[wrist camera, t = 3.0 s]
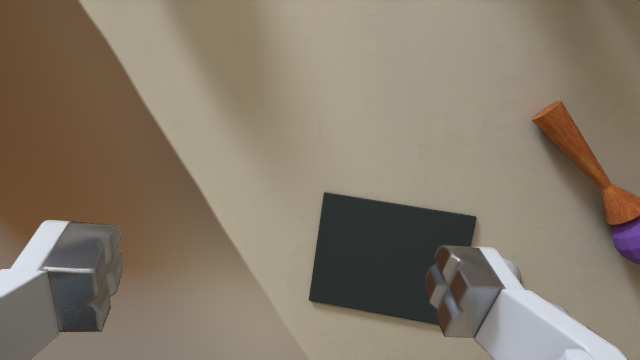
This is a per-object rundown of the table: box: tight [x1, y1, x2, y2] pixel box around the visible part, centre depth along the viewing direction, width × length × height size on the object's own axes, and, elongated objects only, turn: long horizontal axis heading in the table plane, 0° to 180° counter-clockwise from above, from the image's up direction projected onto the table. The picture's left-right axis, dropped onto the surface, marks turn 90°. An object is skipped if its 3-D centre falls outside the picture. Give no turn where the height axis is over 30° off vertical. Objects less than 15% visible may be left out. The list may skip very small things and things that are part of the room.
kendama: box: [532, 101, 640, 265], centre depth 45 cm, size 6×6×20 cm
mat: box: [309, 192, 476, 324], centre depth 52 cm, size 18×14×1 cm
